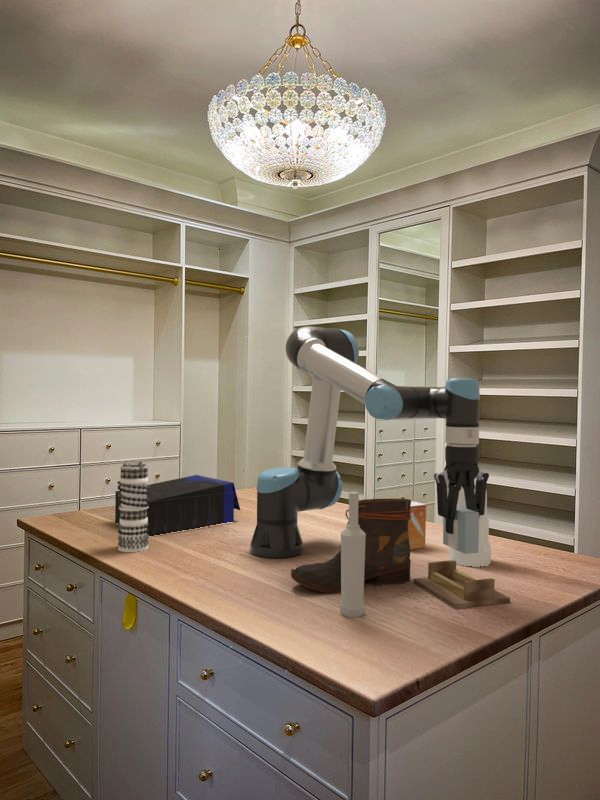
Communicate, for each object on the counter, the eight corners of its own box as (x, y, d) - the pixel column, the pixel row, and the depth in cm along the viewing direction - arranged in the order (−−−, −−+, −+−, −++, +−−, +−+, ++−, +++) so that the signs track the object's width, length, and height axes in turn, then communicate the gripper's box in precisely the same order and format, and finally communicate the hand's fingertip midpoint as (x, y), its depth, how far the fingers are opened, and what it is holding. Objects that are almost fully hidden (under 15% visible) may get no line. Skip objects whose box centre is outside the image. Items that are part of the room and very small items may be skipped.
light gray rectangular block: (464, 553, 132) (465, 513, 132) (443, 543, 141) (443, 505, 141) (478, 552, 133) (479, 512, 133) (455, 542, 142) (456, 505, 142)
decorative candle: (110, 548, 171) (111, 461, 171) (138, 542, 178) (139, 459, 177) (127, 554, 165) (128, 464, 164) (156, 548, 172) (156, 461, 171)
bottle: (337, 608, 126) (339, 490, 125) (362, 608, 126) (363, 490, 126) (341, 617, 121) (343, 494, 120) (366, 617, 121) (368, 494, 121)
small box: (405, 551, 172) (406, 506, 172) (391, 546, 177) (391, 502, 177) (426, 547, 176) (426, 503, 176) (410, 543, 182) (411, 500, 181)
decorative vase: (491, 558, 166) (492, 468, 165) (490, 569, 156) (492, 473, 155) (451, 554, 169) (452, 466, 169) (447, 564, 159) (449, 471, 159)
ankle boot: (282, 582, 143) (283, 499, 143) (396, 570, 154) (397, 493, 153) (298, 597, 132) (299, 508, 132) (419, 584, 143) (420, 501, 142)
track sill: (455, 608, 126) (455, 585, 126) (413, 582, 143) (413, 562, 143) (510, 602, 131) (510, 579, 131) (463, 577, 148) (463, 557, 148)
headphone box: (240, 522, 208) (241, 481, 207) (148, 538, 184) (149, 492, 184) (202, 511, 226) (203, 473, 226) (114, 524, 203) (115, 482, 203)
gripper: (439, 447, 130) (437, 553, 131) (502, 445, 136) (501, 548, 136) (421, 444, 138) (420, 545, 138) (483, 443, 143) (481, 540, 143)
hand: (460, 546), depth 137 cm, fingers closed on light gray rectangular block, 3 cm apart
